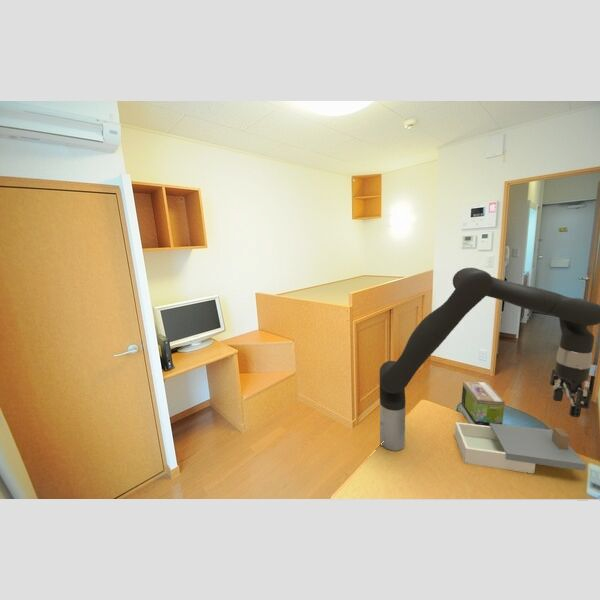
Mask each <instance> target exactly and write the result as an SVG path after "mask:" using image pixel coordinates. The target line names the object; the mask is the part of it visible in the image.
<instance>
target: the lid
mask: <svg viewBox="0 0 600 600" xmlns="http://www.w3.org/2000/svg"><path fill="white" fill-rule="evenodd" d="M489 426H491V428H492V430H493V432H494V433H495V435H496V437H497V439H498V440H499V442H500V444H501V445H502V447H503V449H504V451H505V452H506V460H513V461H520V462H527V463H534V464H535V465H542V466H548V467H555V468H562V469H568V470H569V469H570V470H575V471H582V472H585V471H586V469H587V464H586V463H585V461H584V460H583V459H582V458H581V457H580V455H578V453H576V451H575V450H574V449H573V447H571V446H570V440H571V436H570V435H569V434H568V433H567V432H566V430H564V429H563V428H562V427H561V428H560V427H553V428H552V429H545V428H537V427H527V426H519V425H510V424H504V423H502V424H494V423H489Z"/></svg>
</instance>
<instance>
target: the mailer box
mask: <svg viewBox="0 0 600 600" xmlns="http://www.w3.org/2000/svg"><path fill="white" fill-rule="evenodd" d="M454 437H455V439H456V443H457V445H458V448H459V451H460V454H461V455H462V459H463V461H464V462H463V463H465V464H468V465H469V464H470V465H474V466H481V467H489V468H495V469H500V470H506V471H507V470H509V471H515V472H521V473H526V474H532V473H534V474H535V468H536V464H534V463H527V462H520V461H513V460H506V452H505V451H504V449H503V447H502V445H501V444H500V442H499V440H498V439H497V437H496V435H495V433H494V432H493V430H492V428H491V426H484V425H476V424H469V423H465V422H458V421H457V422H456V421H455V426H454ZM527 472H528V473H527Z"/></svg>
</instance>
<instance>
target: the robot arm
mask: <svg viewBox="0 0 600 600" xmlns="http://www.w3.org/2000/svg"><path fill="white" fill-rule="evenodd" d="M452 285H453V288H454V290H453V292H452V293H451V294H450V296H449V297H448V298H447V300H446V301H444V303H442V304H441V305H440V306H439V307H437V308H435V309H434V310H433V311H431V312H430V313H429V314H428V315H427V316H425V317H424V318H423V319H422V320H421V321H420V323H418V325H417V326H416V327H415V329H414V330H413V332H412V333H411V335H410V336H409V338H408V339H407V342H406V344H405V346H404V348H403V351H402V352H401V354H400V356H399V357H398V358H397V360H396V361H395V360H387V361H385V362H383V363H382V364H381V365H380V368H379V373H378V374H379V445H380V444H381V443H382V442H383V441H384V442H383V443H382V445H381V446H380V447H383V448H385V449H387V450H390V451H394V452H395V451H398V452H399V451H400V450H403V449H404V448H405V446H406V445H405V443H406V389H405V388H406V387H407V386H408V384H409V383H410V382H411V380H413V377H414V376H415V374H416V373H417V371H418V370H419V369H420V367H421V366H423V364H424V363H425V362H426V361H427V360H428V359H429V358H430V357H431V355H433V354H434V352H435V351H436V350H437V349H439V347H440V346H441V344H442V343H443V342H444V341H445V340H446V339H447V338H448V336H449V335H450V334H451V333H452V331H454V330H455V328H456V327H458V325H459V323H460V322H461V321H462V320H463V319H464V317H466V316H467V314H468V313H470V311H471V310H472V309H474V307H476V306H477V305H478V304H479V303H480V302H481V301H482V300H483V299H484V298H486V297H489V298H493V299H496V300H501V301H503V302H505V303H508V304H512V305H514V306H517V307H520V308H523V309H526V310H529V311H532V312H537V313H539V314H544V315H549V316H552V317H553V316H554V317H555V318H558V319H559V326H560V331H561V336H560V340H559V341H560V343H559V346H558V347H559V348H558V351H557V354H556V360H555V367H554V369H552V371H551V376H550V381H549V383H550V386H552V389H553V396H552V399H553V401H555V402H562V401H563V398H564V392H565V393H566V397H567V399H569V401H570V407H569V412H568V413H569V416H570V417H571V418H580V416H581V411H582V409H587V410H589V409H590V408H589V405H590V400H591V390H590V389H585V388H583V387H584V386H583V383H584V382H586V381H588V380H589V377H590V372H591V371H590V370H591V367H592V360H593V354H592V353H593V348H594V343H595V336H594V334H593V332H591V331H590V330H589V329H588V327H593V326H598V325H599V324H600V304H598V303H595V302H592V301H589V300H586V299H582V298H577V297H569V296H566V295H563V294H561V293H558V292H555V291H551V290H547V289H542V288H539V287H534V286H530V285H525V284H520V283H516V282H511V281H507V280H503V279H500V278H497V277H494V276H491V274H490V273H489V272H487V271H485V270H483V269H479V268H476V267H465V268H462V269H459V270H458V271H456V273H455V274H454V275H453V277H452Z"/></svg>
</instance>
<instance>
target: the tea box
mask: <svg viewBox="0 0 600 600" xmlns="http://www.w3.org/2000/svg"><path fill="white" fill-rule="evenodd" d="M461 391H462V393H461V405H460V410H461V413H462V414H463V415H464V417H465V418H466V420H467V422H468V424H476V425H484V426H489V423H494V424H503V423H504V422H503V419H504V411H505V404H506V403H505V402H506V401H505V400H504V399H503V398H502V397H501V396H500V395H499V394H498V393H497V391H496V390H495V389H494V388H493V386H491V385H490V384H489V383H488V382H485V381H483V382H482V381H465V380H464V381H462V390H461Z"/></svg>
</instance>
